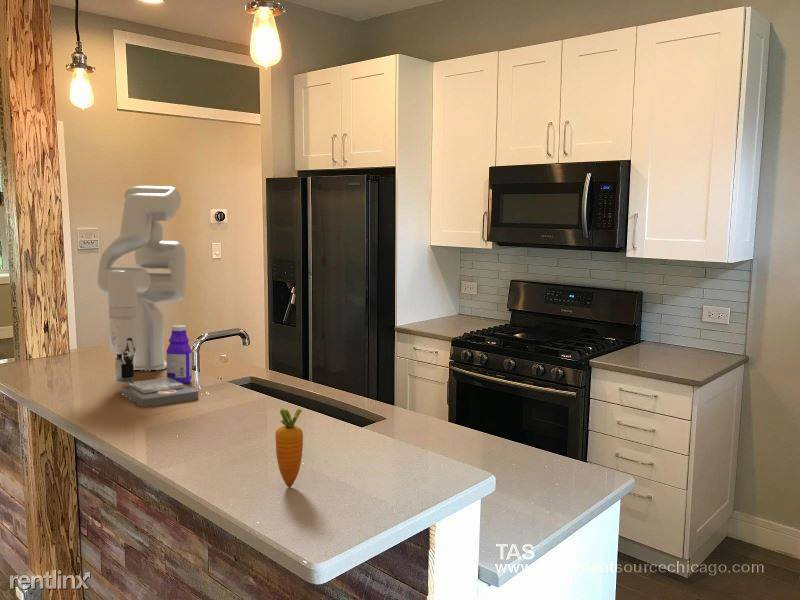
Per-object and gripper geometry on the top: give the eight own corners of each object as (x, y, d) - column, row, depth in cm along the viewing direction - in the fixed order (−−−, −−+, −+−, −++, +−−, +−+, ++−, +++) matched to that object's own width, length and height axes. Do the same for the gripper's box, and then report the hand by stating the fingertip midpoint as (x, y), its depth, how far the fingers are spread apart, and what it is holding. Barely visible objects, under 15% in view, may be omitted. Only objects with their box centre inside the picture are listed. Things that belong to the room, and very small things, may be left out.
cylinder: (114, 380, 192) (113, 359, 192) (130, 378, 195) (129, 357, 195) (119, 382, 189) (118, 361, 189) (135, 380, 192) (134, 360, 191)
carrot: (304, 482, 125) (304, 403, 124) (301, 492, 120) (301, 411, 119) (277, 482, 125) (277, 403, 123) (273, 492, 120) (273, 411, 118)
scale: (122, 394, 187) (121, 385, 187) (174, 387, 197) (174, 378, 197) (143, 407, 174) (142, 397, 174) (198, 398, 184) (198, 389, 184)
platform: (129, 385, 188) (129, 382, 188) (168, 380, 195) (168, 377, 195) (143, 393, 180) (143, 389, 180) (183, 387, 187) (183, 384, 187)
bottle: (195, 380, 205) (193, 324, 204) (187, 385, 200) (186, 327, 198) (172, 379, 206) (171, 324, 204) (164, 384, 201) (162, 326, 199)
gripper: (100, 311, 194) (102, 372, 196) (118, 316, 181) (120, 383, 183) (126, 309, 199) (128, 369, 201) (146, 315, 186) (148, 379, 188)
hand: (124, 375), depth 192 cm, fingers closed on cylinder, 4 cm apart
